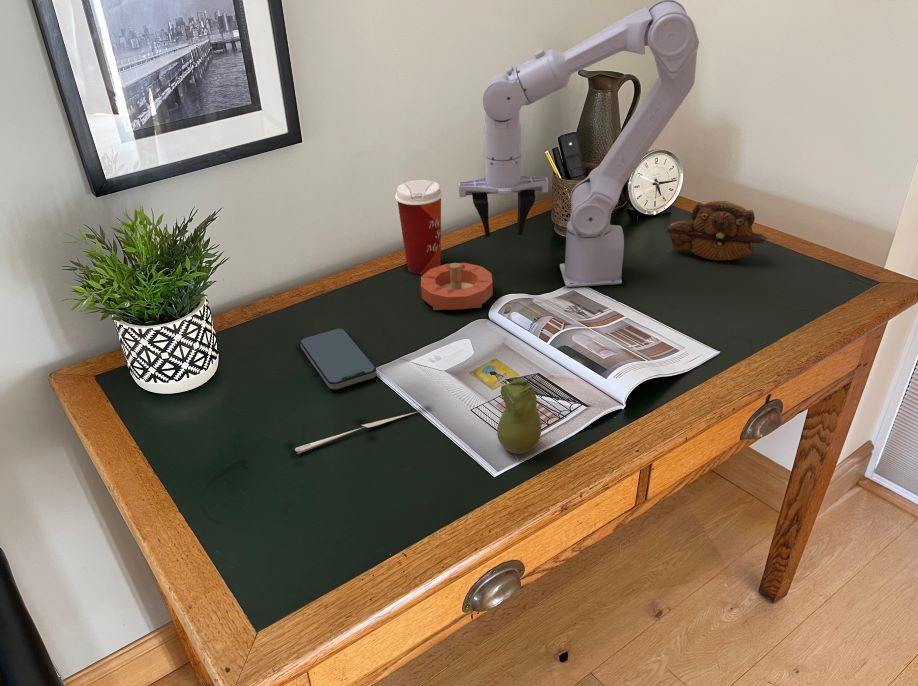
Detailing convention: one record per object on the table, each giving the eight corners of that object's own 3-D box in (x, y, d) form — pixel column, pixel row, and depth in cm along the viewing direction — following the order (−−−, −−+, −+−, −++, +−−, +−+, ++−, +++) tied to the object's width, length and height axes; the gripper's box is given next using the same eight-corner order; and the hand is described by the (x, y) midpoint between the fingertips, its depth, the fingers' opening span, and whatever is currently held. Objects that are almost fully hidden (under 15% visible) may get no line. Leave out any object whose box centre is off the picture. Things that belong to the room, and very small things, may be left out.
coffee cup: (446, 276, 139) (442, 195, 130) (400, 278, 139) (392, 197, 130) (446, 255, 145) (442, 177, 137) (402, 257, 146) (395, 179, 137)
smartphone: (343, 326, 124) (378, 369, 113) (344, 335, 125) (380, 379, 114) (297, 339, 122) (329, 384, 110) (299, 348, 123) (330, 394, 111)
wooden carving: (662, 258, 139) (668, 205, 134) (666, 247, 143) (672, 195, 137) (761, 269, 134) (772, 214, 128) (762, 258, 137) (773, 204, 132)
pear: (547, 455, 98) (549, 390, 92) (509, 467, 97) (509, 402, 91) (527, 429, 102) (528, 366, 97) (490, 440, 101) (488, 377, 95)
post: (479, 284, 135) (478, 252, 132) (481, 307, 129) (481, 275, 125) (432, 287, 136) (430, 255, 132) (433, 310, 129) (431, 277, 126)
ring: (490, 273, 136) (489, 261, 135) (494, 307, 127) (494, 294, 125) (422, 277, 137) (421, 264, 135) (421, 311, 127) (420, 298, 126)
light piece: (434, 410, 105) (299, 456, 99) (434, 416, 106) (300, 462, 99) (421, 395, 108) (289, 439, 102) (421, 401, 109) (290, 445, 102)
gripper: (458, 166, 122) (461, 246, 130) (551, 160, 122) (549, 241, 130) (456, 151, 128) (460, 228, 136) (546, 145, 128) (544, 223, 136)
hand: (503, 233), depth 133 cm, fingers open, 5 cm apart
